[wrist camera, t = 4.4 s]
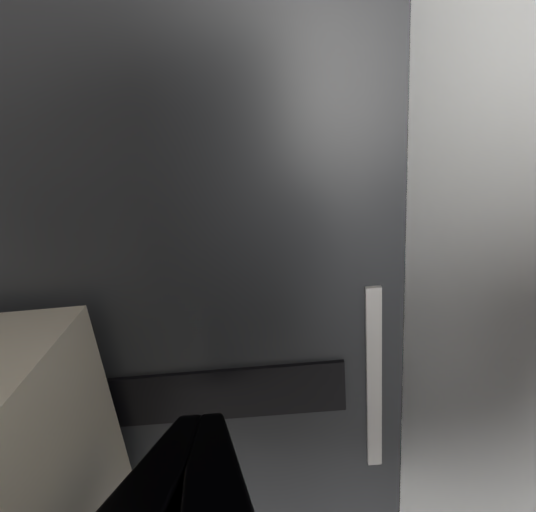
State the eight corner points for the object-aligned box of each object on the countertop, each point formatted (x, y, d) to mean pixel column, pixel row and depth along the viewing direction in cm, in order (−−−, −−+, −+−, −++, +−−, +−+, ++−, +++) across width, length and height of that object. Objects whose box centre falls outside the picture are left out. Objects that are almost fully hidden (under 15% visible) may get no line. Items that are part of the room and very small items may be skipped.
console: (395, -835, 5) (440, -1157, 3) (386, 474, 12) (400, 520, 10) (-630, -657, 5) (-911, -890, 4) (-50, 505, 12) (-86, 552, 11)
